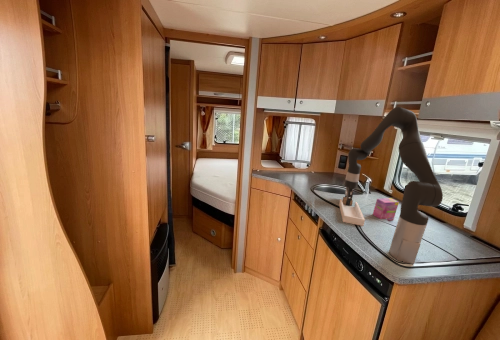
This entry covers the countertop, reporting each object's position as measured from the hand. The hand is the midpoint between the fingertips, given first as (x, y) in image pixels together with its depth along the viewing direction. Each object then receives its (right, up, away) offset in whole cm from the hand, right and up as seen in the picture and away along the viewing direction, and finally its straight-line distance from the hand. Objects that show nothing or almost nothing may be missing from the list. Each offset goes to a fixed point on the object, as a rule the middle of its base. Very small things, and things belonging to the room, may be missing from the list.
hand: (346, 203), depth 143 cm
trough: (-5, -5, -15) cm, 17 cm away
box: (+15, -7, -14) cm, 22 cm away
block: (0, -2, -1) cm, 2 cm away
